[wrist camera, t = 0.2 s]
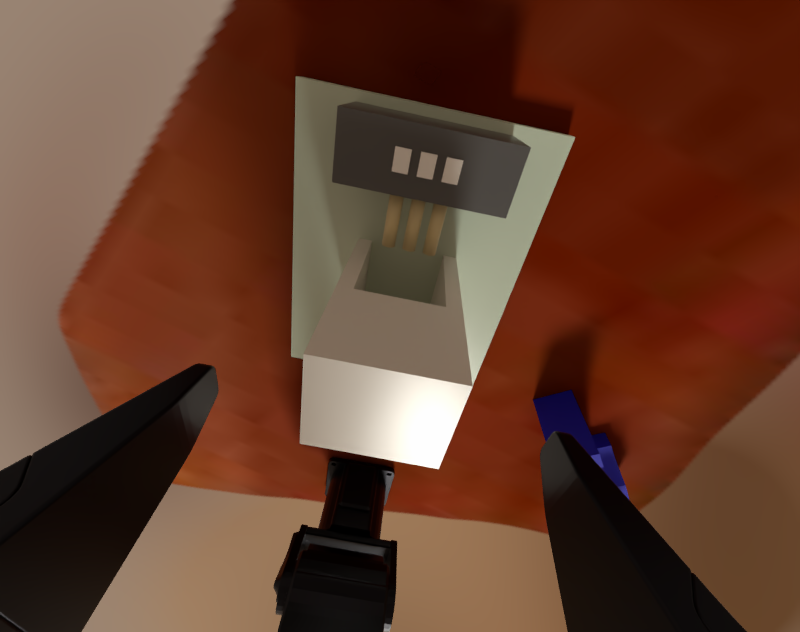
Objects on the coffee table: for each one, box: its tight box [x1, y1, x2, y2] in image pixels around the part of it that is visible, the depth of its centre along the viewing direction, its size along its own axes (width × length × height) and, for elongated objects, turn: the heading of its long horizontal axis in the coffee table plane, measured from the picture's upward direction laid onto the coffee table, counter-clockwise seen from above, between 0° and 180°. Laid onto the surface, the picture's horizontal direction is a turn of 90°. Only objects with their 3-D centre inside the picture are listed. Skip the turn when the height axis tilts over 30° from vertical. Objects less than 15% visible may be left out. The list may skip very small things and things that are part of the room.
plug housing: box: [300, 238, 473, 469], centre depth 18 cm, size 5×6×11 cm
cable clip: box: [533, 390, 629, 499], centre depth 29 cm, size 12×4×6 cm, turn 26°
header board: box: [291, 76, 575, 385], centre depth 21 cm, size 18×14×5 cm
